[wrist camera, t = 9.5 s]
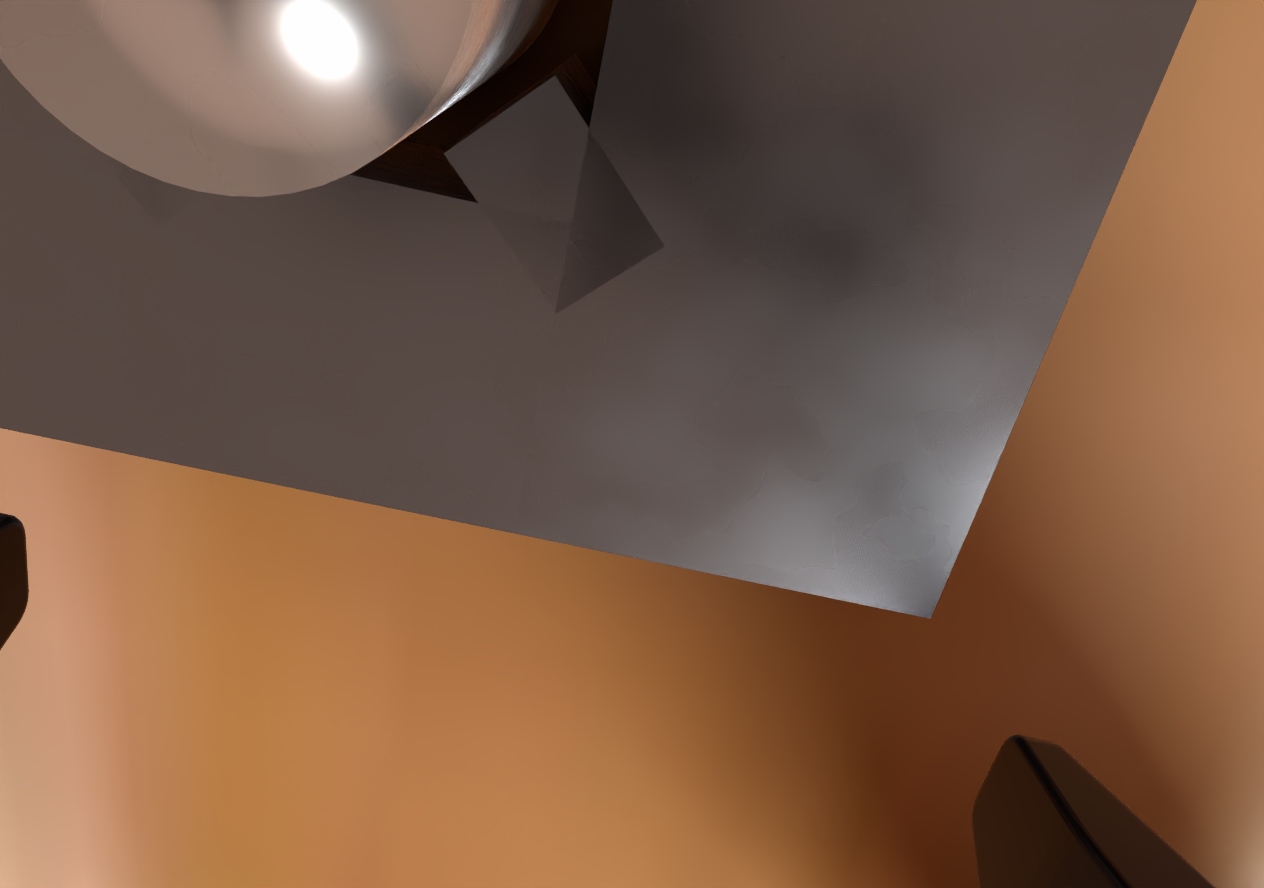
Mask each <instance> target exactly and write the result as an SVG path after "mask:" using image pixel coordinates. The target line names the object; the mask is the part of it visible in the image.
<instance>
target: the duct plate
mask: <svg viewBox="0 0 1264 888" xmlns="http://www.w3.org/2000/svg"><path fill="white" fill-rule="evenodd" d="M1196 1H1197V0H613V3H612V9H611V14H610V19H609V25H608V30H607V36H606V41H605V46H604V52H603V57H602V62H601V68H600V73H599V79H598V84H597V88H596V86H595V84H594V83H593V81H592V80H591V78H590V76H589V75H588V73H587V72H586V70H585V68H584V67H583V65H582V64H581V62H580V61H579V59H578V57H577V56H576V55H575V56H573V57H572V58H570V59H569V60H567V61H566V62H565V63H563V64H562V65H560V66H559V67H557V68H556V69H555V70H553V71H552V72H550V73H549V74H548V75H546V76H545V77H543V78H542V79H540V80H539V81H538V82H536V83H535V84H533V85H532V86H531V87H529V88H528V89H526V90H525V91H523V92H522V93H521V94H519V95H518V96H516V97H515V98H513V99H512V100H511V101H509V102H508V103H506V104H505V105H504V106H502V107H501V108H499V109H498V110H496V111H495V112H494V113H492V114H491V115H489V116H488V117H486V118H485V119H484V120H482V121H481V122H480V123H479V124H477V125H476V126H475V127H474V128H473V129H472V130H470V131H469V132H468V133H467V134H466V135H465V136H464V137H462V138H461V139H460V140H459V141H458V142H457V143H455V144H454V145H453V146H452V147H451V148H450V149H449V150H446V149H441V148H437V147H432V146H428V145H423V144H419V143H414V142H410V141H405V140H402V141H400V142H399V143H397V144H396V145H394V146H393V147H392V148H390V149H389V150H387V151H386V152H384V153H383V154H382V155H380V156H379V157H377V158H375V159H374V160H372V161H371V162H369V163H367V164H366V165H364V166H362V167H361V168H359V169H358V170H356V171H354V172H353V173H351V174H348V175H346V176H344V177H341V178H339V179H337V180H334V181H332V182H330V183H327V184H325V185H322V186H319V187H315V188H311V189H307V190H303V191H300V192H296V193H290V194H282V195H273V196H264V197H247V196H226V195H219V194H212V193H206V192H199V191H195V190H191V189H188V188H184V187H181V186H177V185H173V184H170V183H166V182H163V181H161V180H159V179H156V178H154V177H151V176H149V175H146V174H144V173H142V172H139V171H137V170H134V169H132V168H130V167H128V166H127V165H125V164H123V163H121V162H119V161H117V160H116V159H114V158H112V157H110V156H108V155H107V154H105V153H103V152H101V151H100V150H98V149H97V148H95V147H94V146H92V145H91V144H90V143H88V142H87V141H85V140H84V139H82V138H81V137H80V136H78V135H77V134H75V133H74V132H72V131H71V130H70V129H69V128H67V127H66V126H65V125H64V124H63V123H62V122H60V121H59V120H58V119H57V118H56V117H55V116H53V115H52V114H51V113H50V112H49V111H48V110H47V109H45V108H44V107H43V106H42V105H41V104H40V103H39V102H38V101H37V100H36V99H35V98H34V97H33V96H32V95H31V94H30V93H29V92H28V90H27V89H26V88H25V87H24V86H23V85H22V84H21V83H20V82H19V81H18V80H17V79H16V78H15V77H14V76H13V74H12V73H11V72H10V70H9V69H8V68H7V67H6V65H5V64H4V63H3V61H2V60H1V59H0V428H3V429H8V430H13V431H18V432H23V433H28V434H32V435H37V436H42V437H47V438H52V439H57V440H62V441H67V442H71V443H76V444H81V445H86V446H91V447H96V448H101V449H106V450H110V451H115V452H120V453H125V454H130V455H135V456H140V457H145V458H149V459H154V460H159V461H164V462H169V463H174V464H179V465H184V466H188V467H193V468H198V469H203V470H208V471H213V472H218V473H223V474H227V475H232V476H237V477H242V478H247V479H252V480H257V481H262V482H266V483H271V484H276V485H281V486H286V487H291V488H296V489H301V490H306V491H310V492H315V493H320V494H325V495H330V496H335V497H340V498H345V499H349V500H354V501H359V502H364V503H369V504H374V505H379V506H384V507H388V508H393V509H398V510H403V511H408V512H413V513H418V514H423V515H427V516H432V517H437V518H442V519H447V520H452V521H457V522H462V523H466V524H471V525H476V526H481V527H486V528H491V529H496V530H501V531H505V532H510V533H515V534H520V535H525V536H530V537H535V538H540V539H544V540H549V541H554V542H559V543H564V544H569V545H574V546H579V547H583V548H588V549H593V550H598V551H603V552H608V553H613V554H618V555H622V556H627V557H632V558H637V559H642V560H647V561H652V562H657V563H661V564H666V565H671V566H676V567H681V568H686V569H691V570H696V571H700V572H705V573H710V574H715V575H720V576H725V577H730V578H735V579H739V580H744V581H749V582H754V583H759V584H764V585H769V586H774V587H778V588H783V589H788V590H793V591H798V592H803V593H808V594H813V595H817V596H822V597H827V598H832V599H837V600H842V601H847V602H852V603H856V604H861V605H866V606H871V607H876V608H881V609H886V610H891V611H895V612H900V613H905V614H910V615H915V616H920V617H925V618H930V619H931V617H932V614H933V612H934V610H935V607H936V605H937V603H938V600H939V598H940V596H941V593H942V591H943V589H944V586H945V584H946V582H947V579H948V577H949V575H950V572H951V570H952V568H953V565H954V563H955V561H956V558H957V556H958V554H959V552H960V549H961V547H962V545H963V542H964V540H965V538H966V535H967V533H968V531H969V528H970V526H971V524H972V521H973V519H974V517H975V514H976V512H977V510H978V507H979V505H980V503H981V500H982V498H983V496H984V493H985V491H986V489H987V486H988V484H989V482H990V479H991V477H992V475H993V473H994V470H995V468H996V466H997V463H998V461H999V459H1000V456H1001V454H1002V452H1003V449H1004V447H1005V445H1006V442H1007V440H1008V438H1009V435H1010V433H1011V431H1012V428H1013V426H1014V424H1015V421H1016V419H1017V417H1018V414H1019V412H1020V410H1021V407H1022V405H1023V403H1024V400H1025V398H1026V396H1027V394H1028V391H1029V389H1030V387H1031V384H1032V382H1033V380H1034V377H1035V375H1036V373H1037V370H1038V368H1039V366H1040V363H1041V361H1042V359H1043V356H1044V354H1045V352H1046V349H1047V347H1048V345H1049V342H1050V340H1051V338H1052V335H1053V333H1054V331H1055V328H1056V326H1057V324H1058V322H1059V319H1060V317H1061V315H1062V312H1063V310H1064V308H1065V305H1066V303H1067V301H1068V298H1069V296H1070V294H1071V291H1072V289H1073V287H1074V284H1075V282H1076V280H1077V277H1078V275H1079V273H1080V270H1081V268H1082V266H1083V263H1084V261H1085V259H1086V256H1087V254H1088V252H1089V249H1090V247H1091V245H1092V243H1093V240H1094V238H1095V236H1096V233H1097V231H1098V229H1099V226H1100V224H1101V222H1102V219H1103V217H1104V215H1105V212H1106V210H1107V208H1108V205H1109V203H1110V201H1111V198H1112V196H1113V194H1114V191H1115V189H1116V187H1117V184H1118V182H1119V180H1120V177H1121V175H1122V173H1123V170H1124V168H1125V166H1126V164H1127V161H1128V159H1129V157H1130V154H1131V152H1132V150H1133V147H1134V145H1135V143H1136V140H1137V138H1138V136H1139V133H1140V131H1141V129H1142V126H1143V124H1144V122H1145V119H1146V117H1147V115H1148V112H1149V110H1150V108H1151V105H1152V103H1153V101H1154V98H1155V96H1156V94H1157V91H1158V89H1159V87H1160V85H1161V82H1162V80H1163V78H1164V75H1165V73H1166V71H1167V68H1168V66H1169V64H1170V61H1171V59H1172V57H1173V54H1174V52H1175V50H1176V47H1177V45H1178V43H1179V40H1180V38H1181V36H1182V33H1183V31H1184V29H1185V26H1186V24H1187V22H1188V19H1189V17H1190V15H1191V12H1192V10H1193V8H1194V6H1195V3H1196Z"/></svg>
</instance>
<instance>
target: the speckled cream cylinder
mask: <svg viewBox="0 0 1264 888" xmlns="http://www.w3.org/2000/svg"><path fill="white" fill-rule="evenodd" d="M557 2H558V0H0V59H1V60H2V61H3V63H4V64H5V65H6V67H7V68H8V69H9V70H10V72H11V73H12V74H13V76H14V77H15V78H16V79H17V80H18V81H19V82H20V83H21V84H22V85H23V86H24V87H25V88H26V89H27V90H28V92H29V93H30V94H31V95H32V96H33V97H34V98H35V99H36V100H37V101H38V102H39V103H40V104H41V105H42V106H43V107H44V108H45V109H47V110H48V111H49V112H50V113H51V114H52V115H53V116H55V117H56V118H57V119H58V120H59V121H60V122H62V123H63V124H64V125H65V126H66V127H67V128H69V129H70V130H71V131H72V132H74V133H75V134H77V135H78V136H80V137H81V138H82V139H84V140H85V141H87V142H88V143H90V144H91V145H92V146H94V147H95V148H97V149H98V150H100V151H101V152H103V153H105V154H107V155H108V156H110V157H112V158H114V159H116V160H117V161H119V162H121V163H123V164H125V165H127V166H128V167H130V168H132V169H134V170H137V171H139V172H142V173H144V174H146V175H149V176H151V177H154V178H156V179H159V180H161V181H163V182H166V183H170V184H173V185H177V186H181V187H184V188H188V189H191V190H195V191H199V192H206V193H212V194H219V195H226V196H247V197H264V196H273V195H282V194H290V193H296V192H300V191H303V190H307V189H311V188H315V187H319V186H322V185H325V184H327V183H330V182H332V181H334V180H337V179H339V178H341V177H344V176H346V175H348V174H351V173H353V172H354V171H356V170H358V169H359V168H361V167H362V166H364V165H366V164H367V163H369V162H371V161H372V160H374V159H375V158H377V157H379V156H380V155H382V154H383V153H384V152H386V151H387V150H389V149H390V148H392V147H393V146H394V145H396V144H397V143H399V142H400V141H402V140H403V139H404V138H406V137H407V136H409V135H410V134H412V133H413V132H415V131H416V130H417V129H419V128H420V127H422V126H423V125H425V124H426V123H427V122H429V121H430V120H432V119H433V118H435V117H436V116H437V115H439V114H440V113H442V112H443V111H445V110H446V109H447V108H449V107H450V106H452V105H453V104H455V103H456V102H458V101H459V100H460V99H462V98H463V97H465V96H466V95H468V94H469V93H470V92H472V91H473V90H475V89H476V88H478V87H479V86H480V85H482V84H483V83H485V82H486V81H488V80H489V79H491V78H492V77H493V76H495V75H496V74H498V73H499V72H501V71H502V70H503V69H505V68H506V67H508V66H509V65H510V64H511V63H513V62H514V61H515V60H516V59H517V58H518V57H520V56H521V55H522V54H523V53H524V52H525V51H526V50H527V49H528V48H529V46H530V45H531V44H532V43H533V42H534V41H535V40H536V38H537V37H538V36H539V34H540V33H541V31H542V30H543V28H544V27H545V25H546V24H547V22H548V20H549V18H550V16H551V14H552V12H553V10H554V8H555V6H556V5H557Z"/></svg>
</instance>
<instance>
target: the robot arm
mask: <svg viewBox="0 0 1264 888" xmlns="http://www.w3.org/2000/svg"><path fill="white" fill-rule="evenodd" d="M28 593H29V588H28V571H27V553H26V536H25V529H24V527H23V524H22V522H21V521H20V520H19V519H17V518H16V517H15V516H12V515H8V514H3V513H0V650H1V648H2V647H3V645H4V644H5V642H6V641H7V640H8V638H9V637H10V635H11V634H12V632H13V631H14V629H15V628H16V626H17V625H18V623H19V622H20V620H21V618H22V616H23V614H24V612H25V609H26V606H27V602H28ZM972 829H973V838H974V847H975V856H976V865H977V874H978V883H979V888H1215V887H1214V886H1213V885H1212V884H1211V883H1210V882H1209V881H1208V880H1206V879H1205V878H1204V877H1203V876H1202V875H1201V874H1200V873H1199V872H1198V871H1197V870H1196V869H1194V868H1193V867H1192V866H1191V865H1190V864H1189V863H1188V862H1187V861H1186V860H1185V859H1183V858H1182V857H1181V856H1180V855H1179V854H1178V853H1177V852H1176V851H1175V850H1174V849H1172V848H1171V847H1170V846H1169V845H1168V844H1167V843H1166V842H1165V841H1164V840H1163V839H1162V838H1160V837H1159V836H1158V835H1157V834H1156V833H1155V832H1154V831H1153V830H1152V829H1151V828H1149V827H1148V826H1147V825H1146V824H1145V823H1144V822H1143V821H1142V820H1141V819H1140V818H1139V817H1137V816H1136V815H1135V814H1134V813H1133V812H1132V811H1131V810H1130V809H1129V808H1128V807H1126V806H1125V805H1124V804H1123V803H1122V802H1121V801H1120V800H1119V799H1118V798H1117V797H1116V796H1114V795H1113V794H1112V793H1111V792H1110V791H1109V790H1108V789H1107V788H1106V787H1105V786H1103V785H1102V784H1101V783H1100V782H1099V781H1098V780H1097V779H1096V778H1095V777H1094V776H1092V775H1091V774H1090V773H1089V772H1088V771H1087V770H1086V769H1085V768H1084V767H1083V766H1082V765H1080V764H1079V763H1078V762H1077V761H1076V760H1075V759H1074V758H1073V757H1072V756H1071V755H1069V754H1068V753H1067V752H1066V751H1065V750H1064V749H1063V748H1062V747H1060V746H1059V745H1057V744H1055V743H1053V742H1049V741H1045V740H1040V739H1035V738H1031V737H1026V736H1022V735H1015V736H1012V737H1009V738H1008V739H1007V740H1006V741H1005V742H1004V744H1003V745H1002V747H1001V749H1000V751H999V753H998V755H997V757H996V759H995V761H994V763H993V765H992V767H991V769H990V771H989V773H988V775H987V777H986V779H985V781H984V783H983V785H982V787H981V789H980V791H979V793H978V795H977V797H976V800H975V803H974V807H973V813H972Z"/></svg>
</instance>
